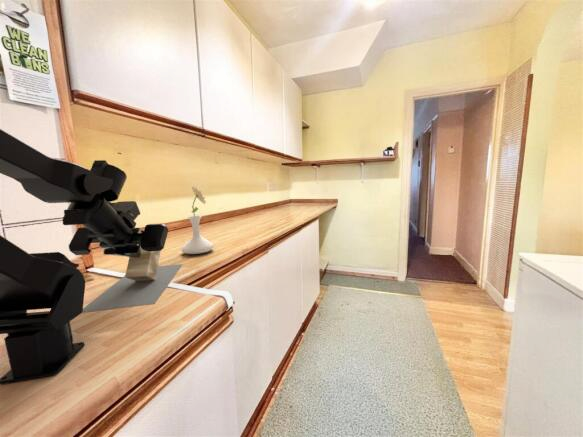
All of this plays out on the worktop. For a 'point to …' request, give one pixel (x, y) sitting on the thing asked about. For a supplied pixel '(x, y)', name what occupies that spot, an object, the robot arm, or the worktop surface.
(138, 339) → the worktop surface
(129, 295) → the rubber mat
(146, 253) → the birch block
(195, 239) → the flower in vase
